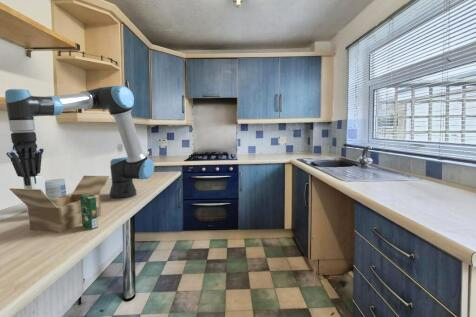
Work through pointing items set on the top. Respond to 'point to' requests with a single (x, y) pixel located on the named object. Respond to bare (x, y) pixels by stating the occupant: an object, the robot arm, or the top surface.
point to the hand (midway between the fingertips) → (31, 193)
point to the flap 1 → (33, 197)
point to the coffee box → (89, 211)
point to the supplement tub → (55, 188)
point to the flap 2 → (91, 184)
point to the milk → (37, 186)
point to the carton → (60, 214)
